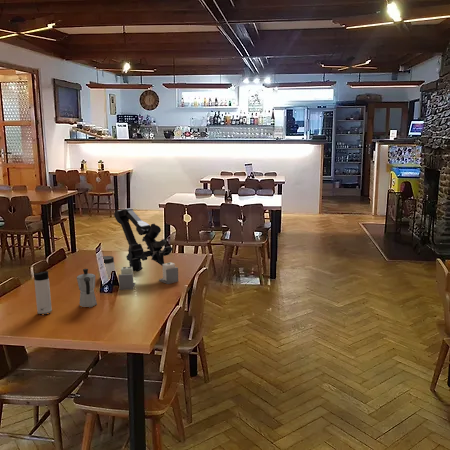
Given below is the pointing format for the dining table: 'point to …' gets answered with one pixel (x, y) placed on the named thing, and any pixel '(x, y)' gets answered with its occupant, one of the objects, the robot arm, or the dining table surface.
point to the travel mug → (42, 292)
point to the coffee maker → (87, 289)
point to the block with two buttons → (127, 270)
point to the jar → (109, 264)
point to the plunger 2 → (167, 266)
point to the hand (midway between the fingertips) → (163, 265)
